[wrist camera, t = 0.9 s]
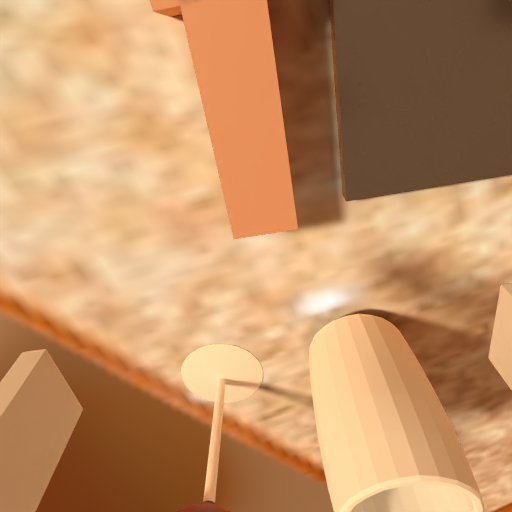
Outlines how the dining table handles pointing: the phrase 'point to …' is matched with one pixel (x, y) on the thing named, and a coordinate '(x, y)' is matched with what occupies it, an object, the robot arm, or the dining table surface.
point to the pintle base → (421, 93)
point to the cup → (384, 424)
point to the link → (241, 109)
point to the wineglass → (219, 397)
